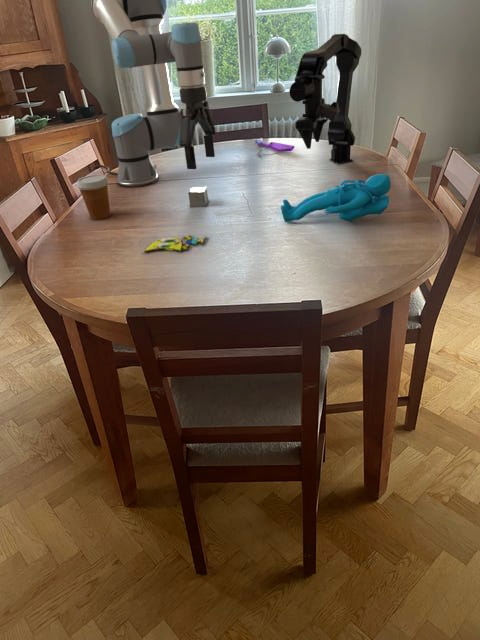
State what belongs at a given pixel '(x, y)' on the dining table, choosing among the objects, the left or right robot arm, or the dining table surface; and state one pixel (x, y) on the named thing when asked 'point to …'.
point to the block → (198, 196)
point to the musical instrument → (275, 146)
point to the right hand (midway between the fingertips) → (313, 145)
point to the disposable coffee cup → (95, 195)
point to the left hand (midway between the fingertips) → (201, 162)
